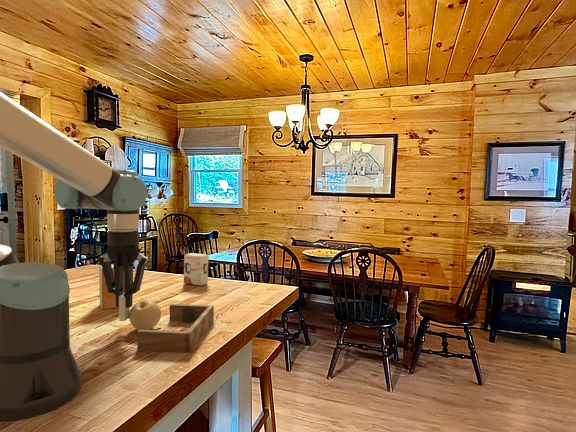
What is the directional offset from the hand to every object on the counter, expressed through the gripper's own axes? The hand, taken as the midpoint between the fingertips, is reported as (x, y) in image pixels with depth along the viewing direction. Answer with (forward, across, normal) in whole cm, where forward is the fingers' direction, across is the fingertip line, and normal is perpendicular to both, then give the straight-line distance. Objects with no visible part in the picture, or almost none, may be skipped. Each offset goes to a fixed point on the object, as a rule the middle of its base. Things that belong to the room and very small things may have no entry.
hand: (124, 319), depth 97 cm
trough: (+3, -15, 0) cm, 15 cm away
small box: (+4, +14, -21) cm, 26 cm away
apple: (+4, -5, -2) cm, 6 cm away
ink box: (+4, -4, -52) cm, 52 cm away
